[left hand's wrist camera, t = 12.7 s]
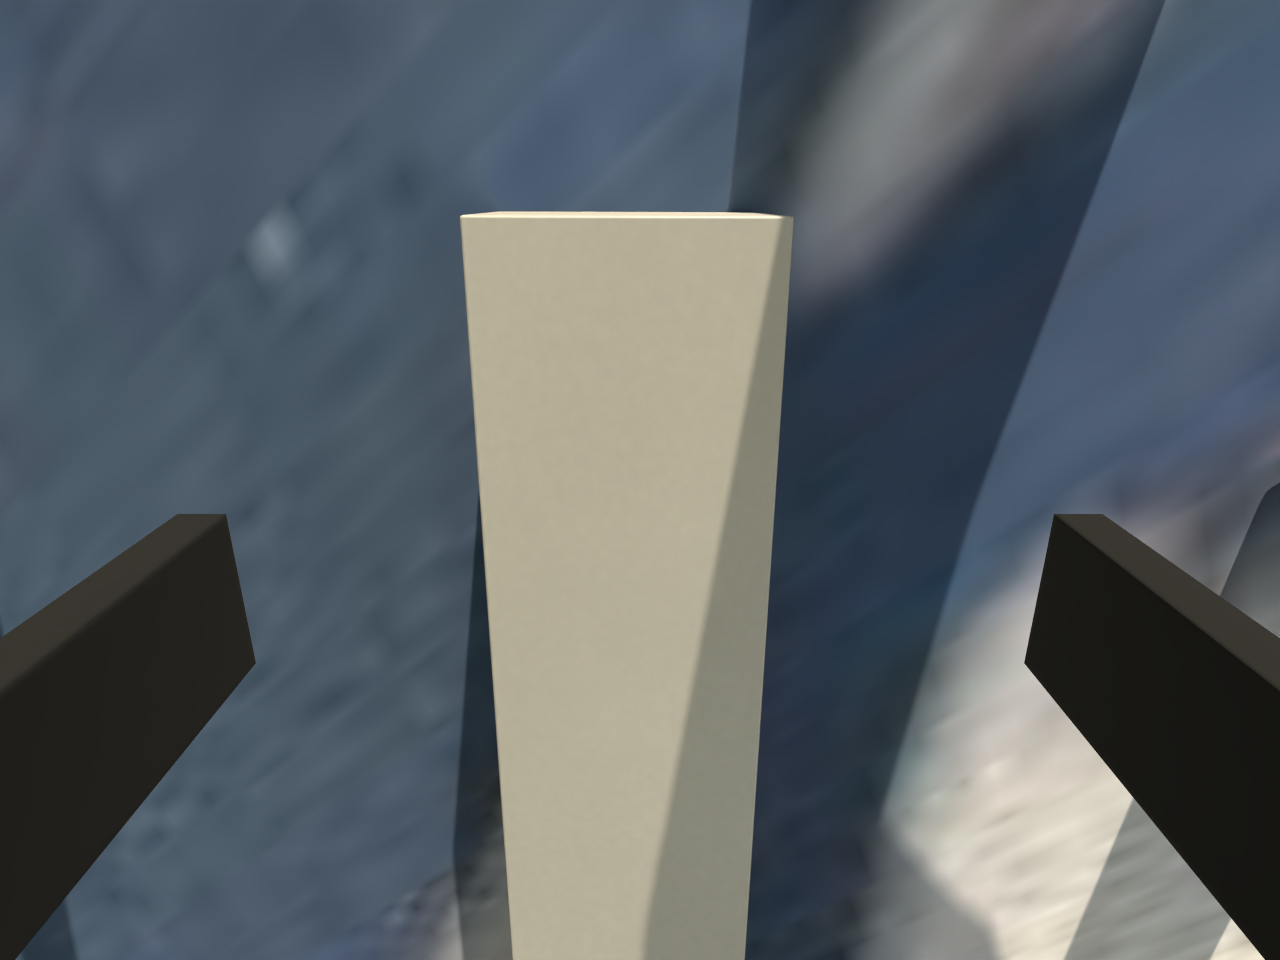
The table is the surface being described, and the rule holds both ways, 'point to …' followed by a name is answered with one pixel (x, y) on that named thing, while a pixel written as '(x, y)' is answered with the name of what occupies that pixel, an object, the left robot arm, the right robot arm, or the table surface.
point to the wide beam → (627, 563)
